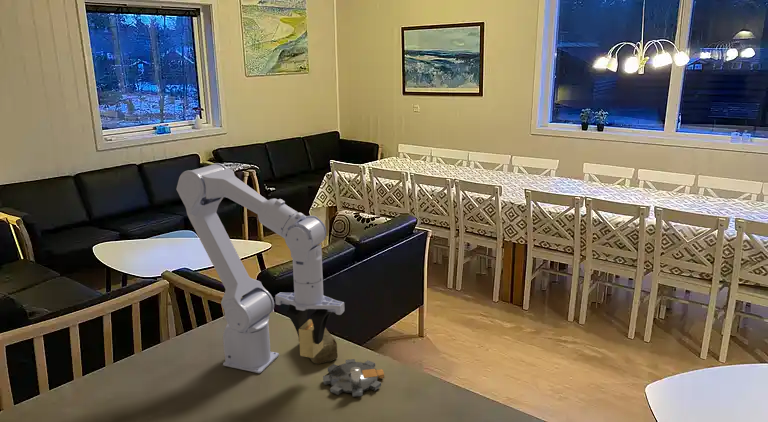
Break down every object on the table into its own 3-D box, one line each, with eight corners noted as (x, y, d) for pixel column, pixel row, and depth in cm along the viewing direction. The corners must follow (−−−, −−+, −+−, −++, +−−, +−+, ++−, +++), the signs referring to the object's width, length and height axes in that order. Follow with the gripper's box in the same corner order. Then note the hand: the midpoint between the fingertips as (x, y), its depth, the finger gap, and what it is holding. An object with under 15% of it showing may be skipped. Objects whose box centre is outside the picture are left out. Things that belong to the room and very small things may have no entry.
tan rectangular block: (300, 355, 110) (298, 328, 109) (310, 345, 115) (309, 318, 113) (313, 358, 109) (311, 331, 108) (323, 347, 114) (322, 321, 112)
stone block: (314, 367, 117) (313, 346, 116) (297, 344, 127) (296, 325, 126) (339, 360, 120) (338, 340, 118) (320, 338, 130) (319, 319, 128)
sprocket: (325, 399, 105) (324, 379, 104) (321, 365, 117) (320, 347, 116) (388, 392, 107) (388, 372, 106) (378, 359, 119) (378, 341, 118)
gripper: (265, 281, 106) (270, 343, 110) (332, 291, 102) (335, 356, 105) (283, 268, 113) (287, 327, 116) (348, 277, 108) (349, 338, 112)
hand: (311, 340), depth 111 cm, fingers closed on tan rectangular block, 3 cm apart
